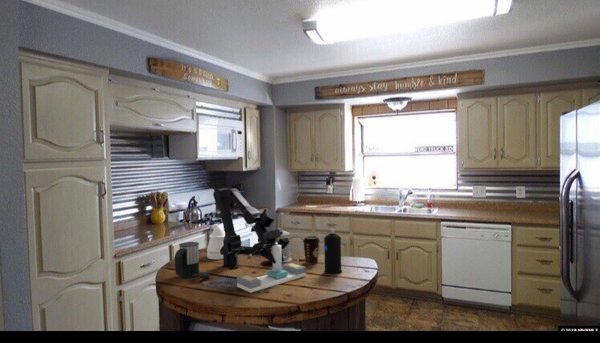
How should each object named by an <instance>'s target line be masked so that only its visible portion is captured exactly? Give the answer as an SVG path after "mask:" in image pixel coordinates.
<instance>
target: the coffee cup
mask: <svg viewBox="0 0 600 343" xmlns="http://www.w3.org/2000/svg"><path fill="white" fill-rule="evenodd" d="M302 241H303V250H304V259H305V264H307V265H315V264H317V263H319V262H318V261H319V250H320V245H319V243H320V241H321V240H320V238H319V237H318V236H316V235H315V236H314V235H310V236H309V235H308V236H305V237H304V239H303V240H302Z"/></svg>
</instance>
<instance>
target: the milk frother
mask: <svg viewBox="0 0 600 343" xmlns="http://www.w3.org/2000/svg"><path fill="white" fill-rule="evenodd" d="M199 245H200V243H199V242H198V241H187V242H186V241H185V242H181V243H179V244H178V246H179V249H178V250H176V252H175V254H174V266H175V275H177V276H179V278H182V279H191V278H196V277H203V278H204V279H209V277H212V274H210V273H209V271H208V272H204V273H200V255H199V253H200V252H199V251H200V249H199V248H200V247H199Z"/></svg>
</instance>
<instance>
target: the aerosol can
mask: <svg viewBox="0 0 600 343" xmlns="http://www.w3.org/2000/svg"><path fill="white" fill-rule="evenodd" d="M329 231H330V232H329V233H328V234H326V235H325V237H323V240H324V241H323V242H324V243H323V244H324V247H323V248H324V273H326V274H328V275H338V274H341V273H342V271H343V270H342V237H341V236H340V235H339V234H337V233H335V232H336V230H335V228H330V230H329Z"/></svg>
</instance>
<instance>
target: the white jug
mask: <svg viewBox="0 0 600 343" xmlns="http://www.w3.org/2000/svg"><path fill="white" fill-rule="evenodd" d="M213 228H214V230H213V231H212V233H211V234H210V235H209V237H208V238H209V241H208V246H207V248H206V249H207V250H206V254H207V255H206V258H207V259H208V260H223V255H221V253H220V249H221V248H222V247H223V245H224V244H223V240H224V237H225V231H224V228H222V227H221V226H219V224H217V223H216V224H213Z"/></svg>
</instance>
